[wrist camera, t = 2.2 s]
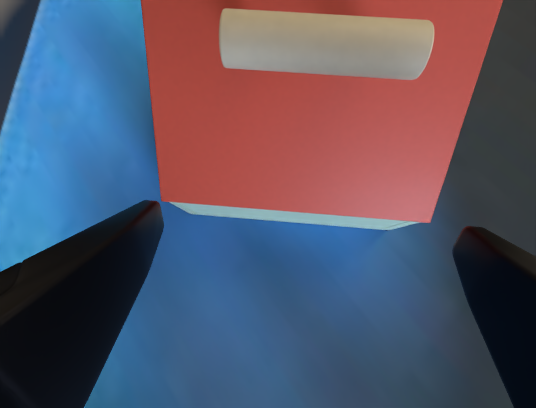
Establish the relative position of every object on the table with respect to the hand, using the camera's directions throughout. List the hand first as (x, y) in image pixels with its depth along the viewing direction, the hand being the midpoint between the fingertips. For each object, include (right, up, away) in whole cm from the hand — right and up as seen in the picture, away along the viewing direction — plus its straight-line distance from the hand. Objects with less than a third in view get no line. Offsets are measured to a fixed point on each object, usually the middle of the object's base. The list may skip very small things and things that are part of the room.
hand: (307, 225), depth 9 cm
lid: (+1, +6, +6) cm, 9 cm away
